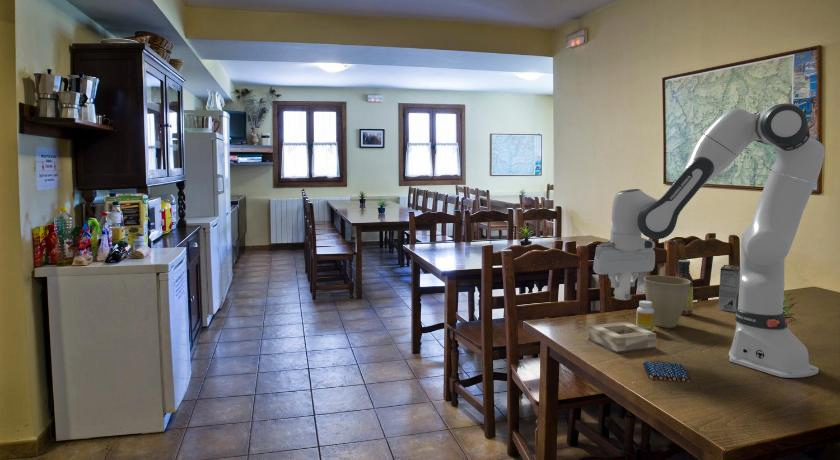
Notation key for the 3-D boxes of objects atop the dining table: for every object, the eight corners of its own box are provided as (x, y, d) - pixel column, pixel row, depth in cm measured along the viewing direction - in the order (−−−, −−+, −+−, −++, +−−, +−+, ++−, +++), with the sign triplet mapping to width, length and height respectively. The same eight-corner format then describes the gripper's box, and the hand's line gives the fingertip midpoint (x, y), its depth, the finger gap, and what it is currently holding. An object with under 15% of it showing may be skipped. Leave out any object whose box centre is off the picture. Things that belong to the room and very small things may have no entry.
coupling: (635, 300, 180) (637, 271, 178) (623, 301, 178) (625, 272, 177) (620, 295, 186) (622, 267, 185) (608, 296, 185) (610, 267, 184)
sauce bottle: (693, 312, 221) (696, 260, 218) (691, 316, 215) (694, 262, 213) (674, 310, 224) (677, 258, 222) (671, 314, 219) (674, 261, 217)
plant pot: (675, 333, 195) (678, 286, 193) (633, 324, 206) (635, 279, 204) (696, 325, 204) (698, 279, 202) (654, 316, 215) (656, 273, 213)
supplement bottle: (654, 332, 195) (655, 304, 194) (637, 332, 197) (638, 303, 195) (651, 328, 201) (652, 300, 200) (634, 327, 202) (636, 299, 201)
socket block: (655, 348, 179) (656, 333, 179) (616, 353, 175) (617, 338, 174) (625, 335, 193) (626, 321, 192) (588, 339, 188) (589, 325, 188)
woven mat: (691, 383, 153) (692, 376, 152) (648, 380, 155) (648, 373, 155) (682, 369, 163) (683, 362, 162) (642, 367, 165) (642, 360, 165)
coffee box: (721, 304, 232) (724, 264, 231) (740, 307, 229) (742, 266, 227) (717, 309, 225) (719, 267, 223) (736, 312, 221) (739, 269, 219)
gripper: (602, 245, 174) (600, 291, 175) (659, 242, 180) (656, 287, 182) (590, 242, 179) (587, 286, 181) (645, 239, 186) (642, 282, 188)
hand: (622, 286), depth 182 cm, fingers closed on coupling, 4 cm apart
